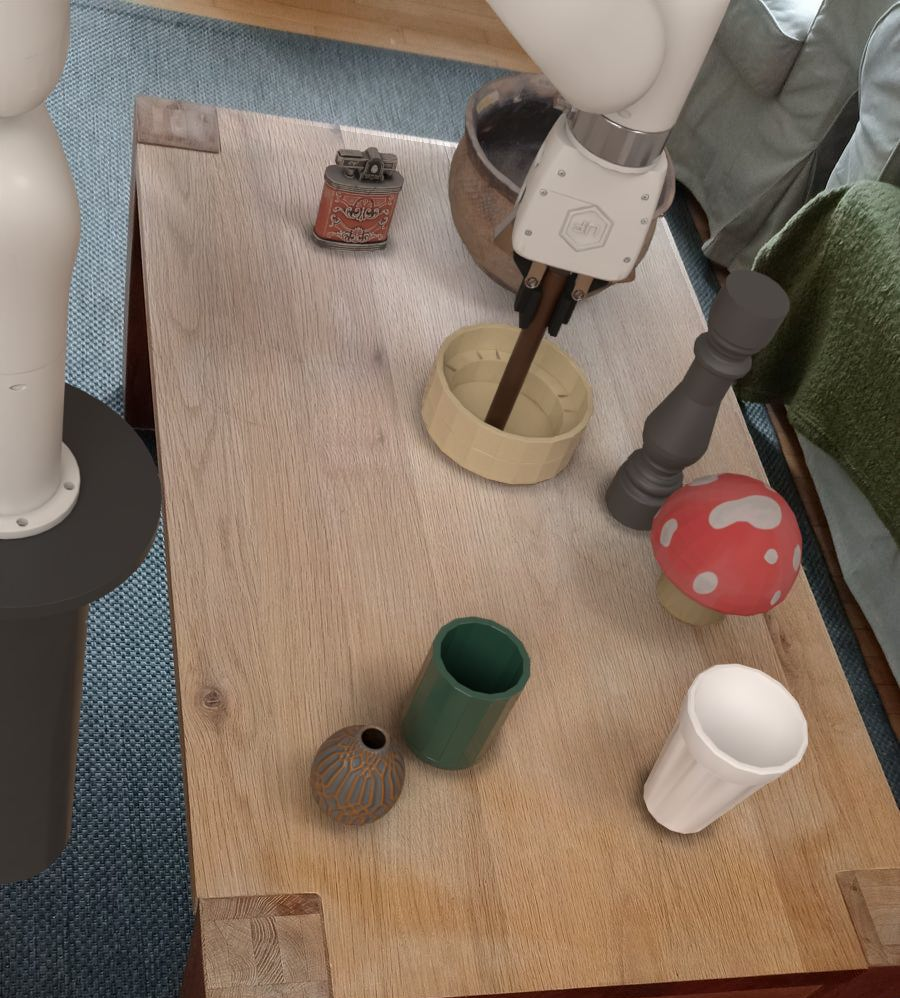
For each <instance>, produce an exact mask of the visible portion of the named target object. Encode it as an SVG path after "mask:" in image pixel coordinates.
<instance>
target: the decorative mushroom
mask: <svg viewBox="0 0 900 998" xmlns="http://www.w3.org/2000/svg"><path fill="white" fill-rule="evenodd" d="M789 505H790V504H788V502H787V501H786V499H785V497H783V496H782V495H781V494H780V493H778V491H776V489H775V488H773V487H772V486H770V485H769V484H767V483H765V482H763V481H762V480H759V479H757V478H754V477H752V476H749V475H746V474H740V473H732V472H722V473H721V472H720V473H715V474H707V475H703V476H700V477H698V478H695V479H693V480H692V481H690V482H688V483H686V484H685V485H682V487H681V488H680V489H678V490H676V491H675V492H674V493H673V494H671V495H670V496H669V497H668V498H667V500H666V501H665V502H664V504H663V505H662V506H661V508H660V509H659V511H658V512H657V514H656V515H655V517H654V518H653V522H652V529H651V530H650V535H649V539H650V543H651V547H652V548H651V549H652V551H653V556H654V559H655V561H656V562H657V564H658V565H659V567H660V569H661V571H662V573H661V574H660V576H659V577H658V579H657V582H656V594H657V598H658V599H659V601H660V603H661V604H662V606H663V607H664V609H665V610H666V611H667V613H668V614H670V615H671V616H672V618H674V619H676V620H677V621H678V622H680V623H683V624H686V625H688V626H696V627H697V626H698V627H707V626H712V625H716V624H717V623H719V622H721V621H722V620H724V618H725V617H726V615H729V616H738V617H739V616H740V617H751V616H755V615H760V614H761V615H762V614H766V613H769V611H771V610H773V609H774V608H776V607H777V606H778V605H780V604H781V603H782V602H783V603H784V601H785V599H786V598H787V596H788V594H789V593H790V591H791V589H792V588H793V586H794V585H795V582H796V580H797V579H798V576H799V573H800V571H801V567H802V566H801V565H802V557H803V556H802V555H803V536H802V533H801V530H800V527H799V523H798V520H797V517H796V515H795V512H794V511H793V510H792V508H791V506H789Z"/></svg>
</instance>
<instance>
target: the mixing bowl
mask: <svg viewBox="0 0 900 998" xmlns="http://www.w3.org/2000/svg"><path fill="white" fill-rule="evenodd" d="M520 331H521V328H519V326H515V325H511V324H508V323H499V322H498V323H497V322H479V323H474V324H470V325H466V326H462V327H459V328H458V329H457V330H455V331H454V332H452V333H450V335H448V336H446V337H445V338H444V340H443V342H442V343H441V346H440V347H439V348H438V351H437V352H436V355H435V358H434V362H433V364H432V367H431V370H430V372H429V376H428V378H427V381H426V383H425V387H424V390H423V393H422V396H421V410H420V411H421V413H420V414H421V418H422V420H423V422H424V425H425V427H426V431H427V433H428V435H429V437H430V438H431V439H432V440H433V442H434V443H435V445H437V447H438V449H440V451H441V452H442V453H444V455H446V456H447V457H448V458H450V459H451V460H452V461H454V462H455V463H456V464H457V465H459V466H460V467H462V468H463V469H464V470H467V471H469V472H471V473H473V474H475V475H477V476H480V477H482V478H483V479H485V480H486V479H487V480H492V481H495V482H500V483H503V484H508V485H534V484H537V483H541V482H544V481H547V480H550V479H552V478H555V477H556V476H557V475H558V474H559V473H560V472H561V471H563V470H564V469H565V468H566V467H567V466H568V465H569V462H570V461H571V458H572V457H573V455H574V452H575V450H576V448H577V446H578V444H579V443H580V440H581V439H582V437H583V434H584V432H585V430H586V428H587V426H588V425H589V423H590V420H591V418H592V415H593V413H594V410H595V407H594V405H595V404H594V391H593V388H592V385H591V384H590V382H589V379H588V377H587V375H586V373H585V372H584V370H583V369H582V368H581V366H580V365H579V364H578V363H577V361H576V360H575V359H574V358H573V356H571V355H570V354H569V353H568V352H567V351H565V350H564V349H562V348H561V347H560V346H558V344H556V343H555V342H553V341H551V340H550V339H548V338H546V337H545V336H544V337H543V339H542V341H541V344H540V346H539V348H538V351H537V353H536V355H535V358H534V360H533V362H532V365H531V367H530V369H529V372H528V374H527V376H526V379H525V381H524V384H523V386H522V388H521V391H520V393H519V395H518V398H517V400H516V402H515V405H514V407H513V409H512V412H511V414H510V416H509V419H508V421H507V423H506V426H505V428H504V431H501V430H499V429H497V428H495V427H493V426H491V425H489V424H487V423H485V422H484V420H485V418H486V415H487V413H488V410H489V408H490V405H491V403H492V400H493V398H494V395H495V393H496V391H497V388H498V386H499V383H500V381H501V378H502V376H503V373H504V371H505V368H506V366H507V363H508V361H509V359H510V356H511V354H512V351H513V349H514V346H515V344H516V341H517V339H518V336H519V334H520Z"/></svg>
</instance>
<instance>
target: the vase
mask: <svg viewBox="0 0 900 998" xmlns="http://www.w3.org/2000/svg"><path fill="white" fill-rule="evenodd" d="M405 782H406V763H405V758H404V755H403V752H402V750H401V747H400V746H399V745H398V743H397V742H396V741H395V740H394V738H393V737H392V736H391V735H390V734H389V733H388V731H387V730H386V729H385V728H384V727H382V726H380V725H379V724H376V723H368V724H353V725H347V726H344V727H343V728H340V729H338V730H336V731H335V732H334V733H332V734H331V735H330V736H328V738H326V739H325V740H324V741H323V742H322V744H321V745H320V746H319V748H318V749H317V751H316V754H315V755H314V758H313V761H312V764H311V768H310V774H309V783H310V784H309V785H310V790H311V794H312V797H313V799H314V801H315V803H316V805H317V807H318V808H319V809H320V811H322V812H323V814H325V815H326V816H327V817H328V818H330V819H331V820H332V821H335V822H337V823H339V824H342V825H346V826H354V827H357V826H364V825H365V826H366V825H369V824H372V823H374V822H377V821H378V820H380V819H382V818H383V817H384V816H385V815H387V813H389V812H390V811H391V810H392V809H393V807H395V805H396V803H397V801H398V800H399V798H400V797H401V794H402V791H403V789H404V786H405Z"/></svg>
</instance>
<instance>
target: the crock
mask: <svg viewBox="0 0 900 998" xmlns="http://www.w3.org/2000/svg"><path fill="white" fill-rule="evenodd" d="M531 676H532V675H531V657H530V655H529V653H528V651H527V649H526V646H525V645H524V643H523V641H521V640H520V639H519V638H518V636H516V634H515V633H514V632H513V631H512V630H511V629H509V628H507V627H506V626H504V625H502V624H501V623H499V622H496V621H495V620H493V619H489V618H484V617H480V616H475V615H474V616H473V615H472V616H464V617H456V618H454V619H452V620H451V621H449V622H448V623H447V622H446V623H445V624H444V625H442V626H441V627H440V628H439V630H438V631H437V633H436V635H435V637H434V638H433V640H432V643H431V645H430V646H429V649H428V652H427V653H426V655H425V658H424V661H423V662H422V665H421V667H420V670H419V671H418V673H417V676H416V678H415V681H414V683H413V685H412V687H411V689H410V692H409V693H408V696H407V698H406V701H405V703H404V706H403V708H402V711H401V714H400V720H399V724H400V725H399V728H400V732H401V735H402V738H403V740H404V742H405V744H406V746H407V747H408V748H409V750H410V751H411V752H412V753H413V754H414V755H415V756H416V757H417V758H418V759H420V760H421V761H422V762H424V763H426V764H428V765H429V766H432V767H434V768H437V769H440V770H448V771H461V770H465V769H469V768H471V767H473V766H475V765H477V764H478V763H480V762H481V761H482V760H483V759H484V758H485V756H486V755H487V754H488V752H489V751H490V748H492V747H491V746H492V745H493V744H494V742H495V740H496V738H497V736H498V735H499V733H500V731H501V729H502V728H503V725H504V724H505V723H506V721H507V719H508V717H509V715H510V713H511V712H512V710H513V708H514V707H515V705H516V703H517V701H518V699H519V698H520V696H521V695H522V692H523V691H524V689H525V687H526V685H527V683H528V682H529V679H530V677H531Z"/></svg>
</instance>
